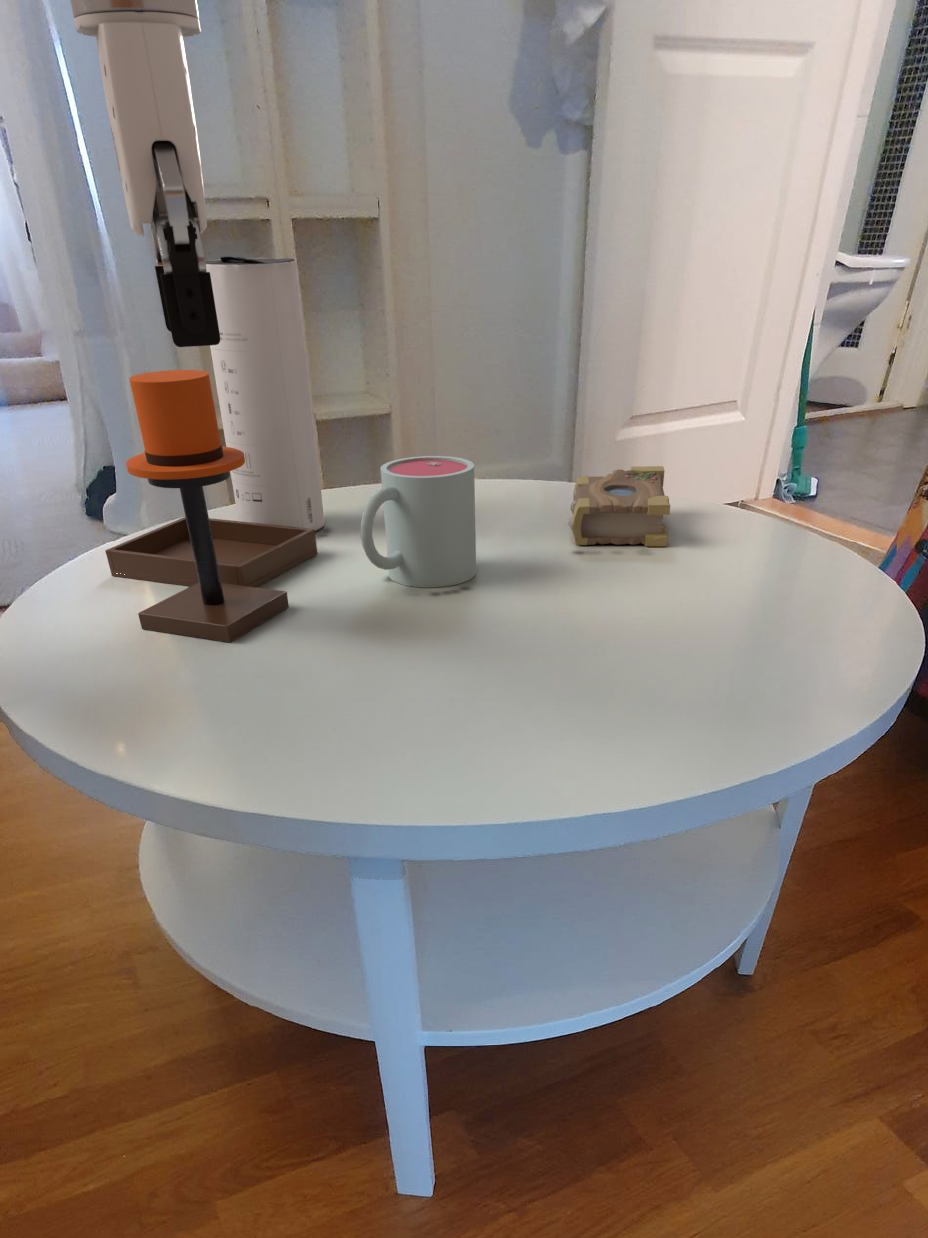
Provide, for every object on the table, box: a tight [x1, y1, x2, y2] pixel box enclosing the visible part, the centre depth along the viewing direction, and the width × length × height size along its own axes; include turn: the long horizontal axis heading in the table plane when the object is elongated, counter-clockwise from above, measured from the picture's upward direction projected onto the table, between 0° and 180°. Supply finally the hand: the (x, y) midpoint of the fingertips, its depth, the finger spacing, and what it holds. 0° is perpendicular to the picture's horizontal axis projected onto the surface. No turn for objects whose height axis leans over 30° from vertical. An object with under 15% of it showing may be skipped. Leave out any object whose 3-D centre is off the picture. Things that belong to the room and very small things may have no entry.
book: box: [567, 465, 671, 547], centre depth 107 cm, size 15×11×5 cm
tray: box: [105, 516, 319, 588], centre depth 101 cm, size 17×14×3 cm
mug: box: [360, 455, 477, 588], centre depth 94 cm, size 14×9×10 cm
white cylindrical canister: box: [205, 255, 325, 532], centre depth 104 cm, size 11×10×26 cm
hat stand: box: [137, 471, 290, 643], centre depth 85 cm, size 10×10×13 cm
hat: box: [125, 369, 245, 480], centre depth 79 cm, size 10×10×7 cm
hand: (192, 337), depth 68 cm, fingers open, 9 cm apart
